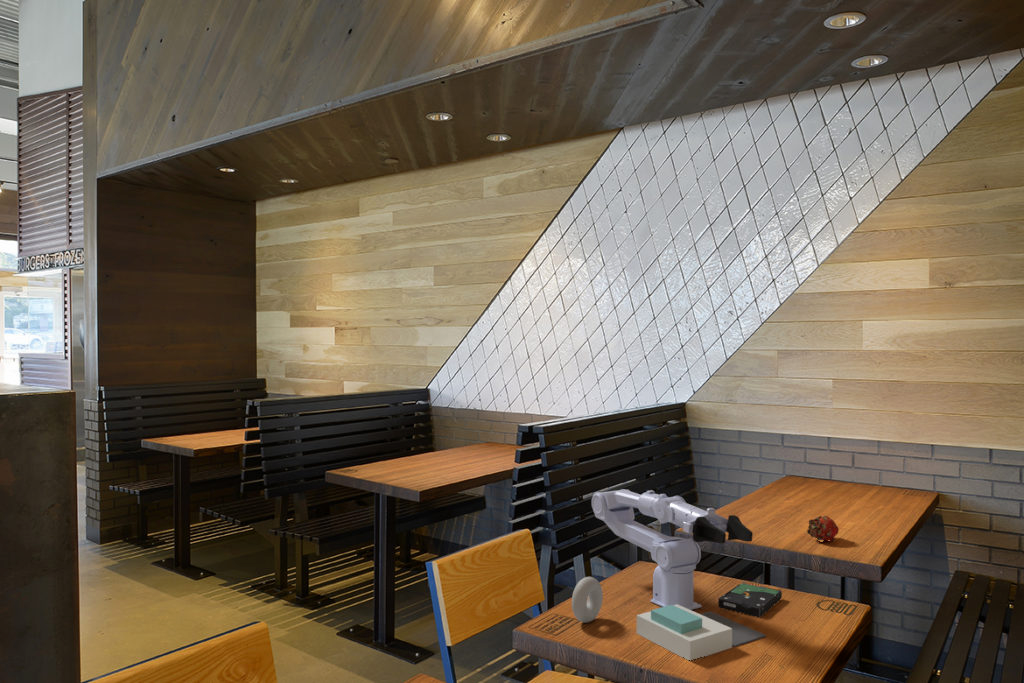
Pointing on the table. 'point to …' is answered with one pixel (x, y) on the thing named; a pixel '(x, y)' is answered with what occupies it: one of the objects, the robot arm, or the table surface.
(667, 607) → the teal rectangular block
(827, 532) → the dragon fruit
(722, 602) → the disk drive
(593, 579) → the donut
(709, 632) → the white flat block
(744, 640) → the mat
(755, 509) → the table surface
